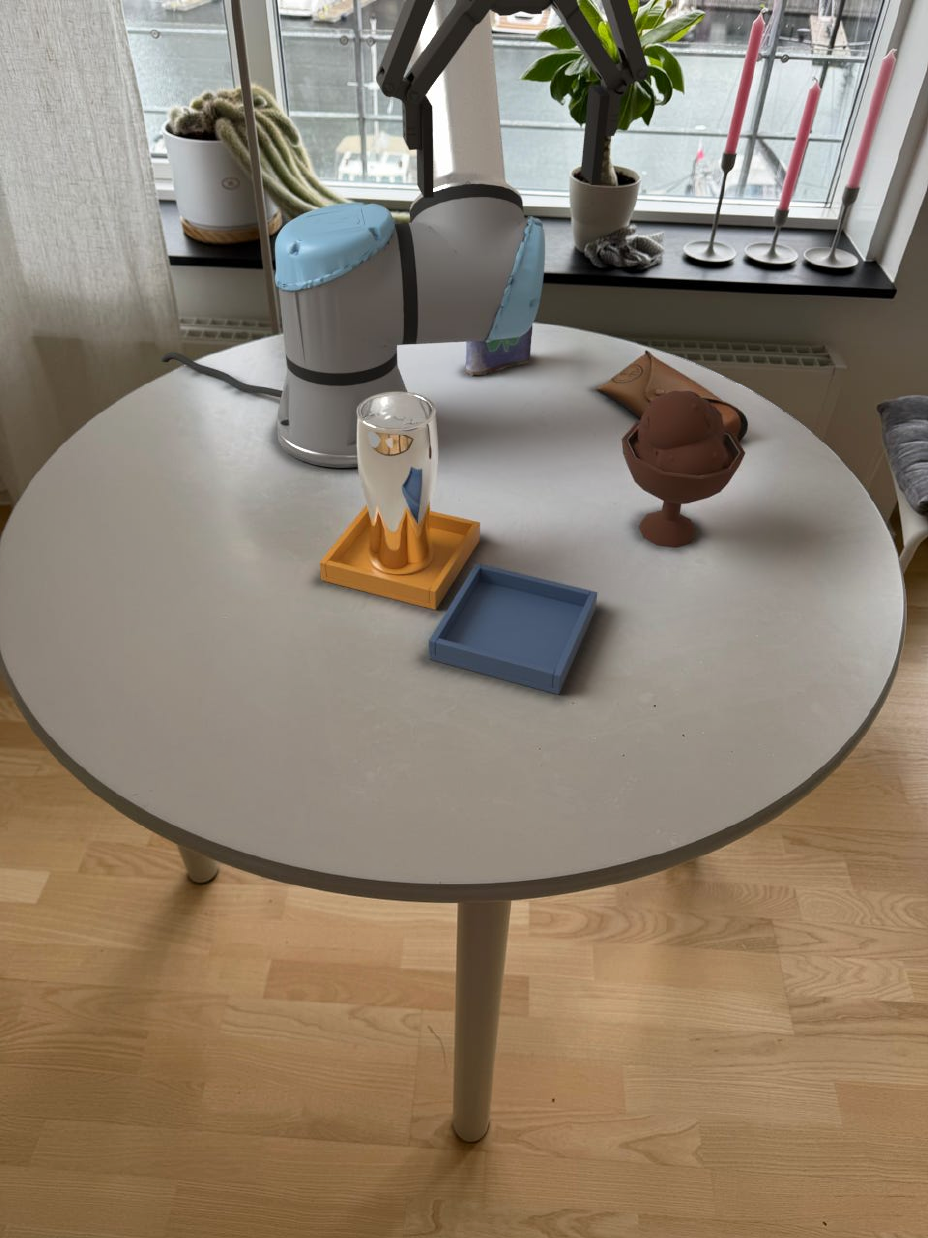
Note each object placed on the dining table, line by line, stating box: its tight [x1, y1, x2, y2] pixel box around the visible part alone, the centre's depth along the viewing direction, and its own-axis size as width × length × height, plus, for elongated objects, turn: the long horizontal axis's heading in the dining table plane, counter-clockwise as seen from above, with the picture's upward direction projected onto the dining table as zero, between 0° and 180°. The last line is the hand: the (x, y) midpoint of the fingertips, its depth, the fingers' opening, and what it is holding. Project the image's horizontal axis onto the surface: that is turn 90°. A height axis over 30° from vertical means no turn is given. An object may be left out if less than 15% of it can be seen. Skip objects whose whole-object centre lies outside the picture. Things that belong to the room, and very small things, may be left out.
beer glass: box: [356, 391, 439, 575], centre depth 84 cm, size 7×7×15 cm
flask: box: [464, 325, 533, 377], centre depth 117 cm, size 9×3×11 cm, turn 121°
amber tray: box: [319, 504, 481, 611], centre depth 89 cm, size 11×11×2 cm
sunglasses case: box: [595, 349, 749, 443], centre depth 111 cm, size 18×7×7 cm
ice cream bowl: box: [621, 391, 746, 548], centre depth 89 cm, size 11×11×15 cm
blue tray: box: [428, 562, 598, 695], centre depth 82 cm, size 11×11×2 cm
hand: (509, 185), depth 77 cm, fingers open, 13 cm apart
